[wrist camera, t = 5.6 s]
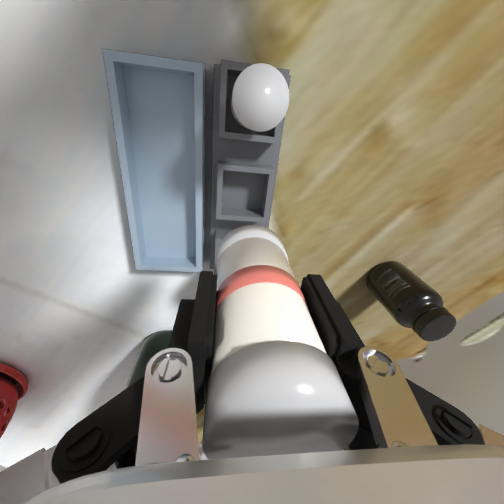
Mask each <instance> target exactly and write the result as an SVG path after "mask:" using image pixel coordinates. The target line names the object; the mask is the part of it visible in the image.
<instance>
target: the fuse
mask: <svg viewBox="0 0 504 504" xmlns="http://www.w3.org/2000/svg"><path fill="white" fill-rule="evenodd" d="M288 105H289V89H288V85H287V82H286V80H285V78H284V77H283V75H282V74H281V73H280V71H279V70H277V69H276V68H275V67H273V66H271V65H269V64H265V63H258V64H253V65H251V66H249V67H247V68H246V69H245V70H243V71H242V72H241V74H240V75H239V76H238V78H237V80H236V82H235V84H234V88H233V92H232V100H231V111H232V115H233V117H234V119H235V120H236V122H237V123H238V124H239V125H241V126H242V127H245V128H248V129H251V130H253V131H259V132H262V131H267V130H270V129H272V128H274V127H275V126H277V125H278V124H279V123H280V122H281V120H282V119H283V118H284V116H285V114H286V112H287V109H288Z"/></svg>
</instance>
